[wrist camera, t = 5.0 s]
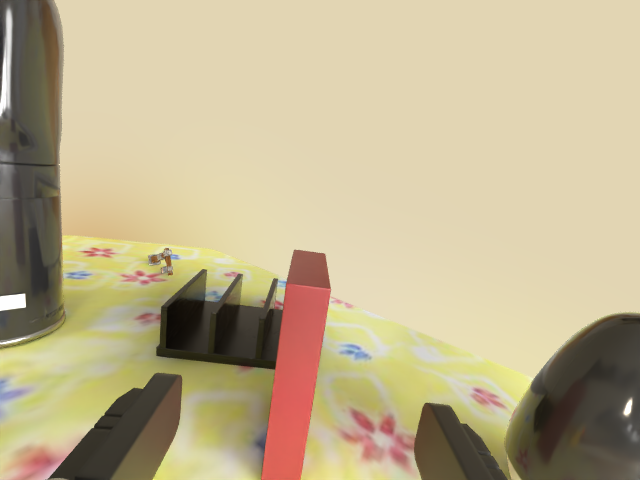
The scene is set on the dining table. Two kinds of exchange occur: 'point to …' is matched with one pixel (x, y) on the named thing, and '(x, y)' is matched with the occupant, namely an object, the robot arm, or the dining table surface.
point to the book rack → (220, 326)
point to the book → (296, 365)
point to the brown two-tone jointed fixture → (165, 255)
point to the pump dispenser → (582, 408)
